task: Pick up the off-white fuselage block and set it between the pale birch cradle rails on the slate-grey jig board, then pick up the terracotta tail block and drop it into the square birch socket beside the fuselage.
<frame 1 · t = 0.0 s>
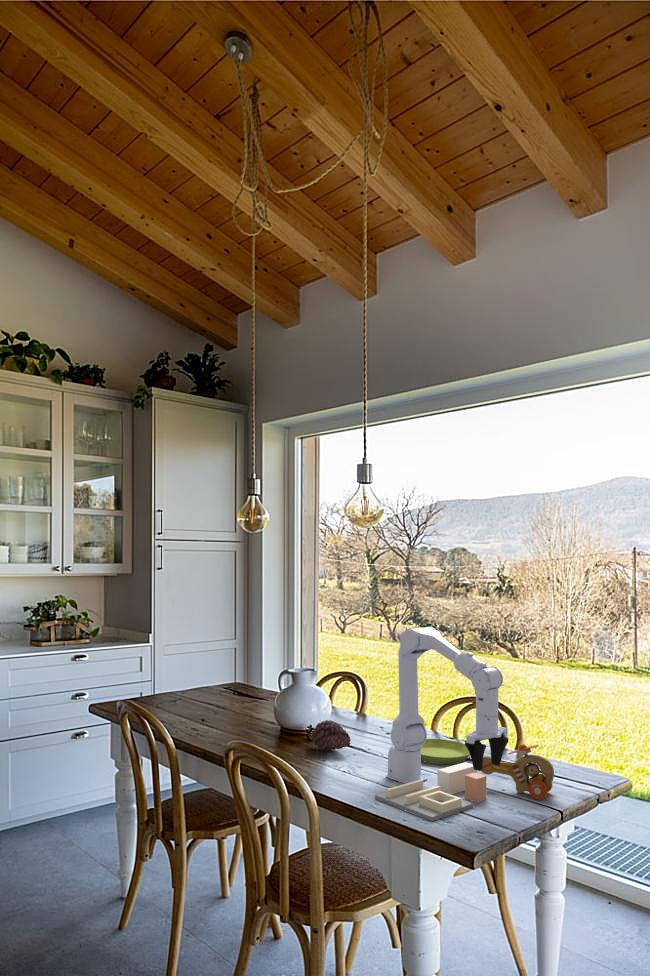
hand: (486, 767, 196), 10 cm above the table, tool pointing down, fingers open, 7 cm apart
fuselage block: (457, 789, 209), on the table
assembly jig: (423, 803, 197), on the table
tail block: (475, 798, 202), on the table
pine cone: (329, 752, 243), on the table
saucer: (439, 758, 240), on the table
toy helicopter: (519, 792, 208), on the table
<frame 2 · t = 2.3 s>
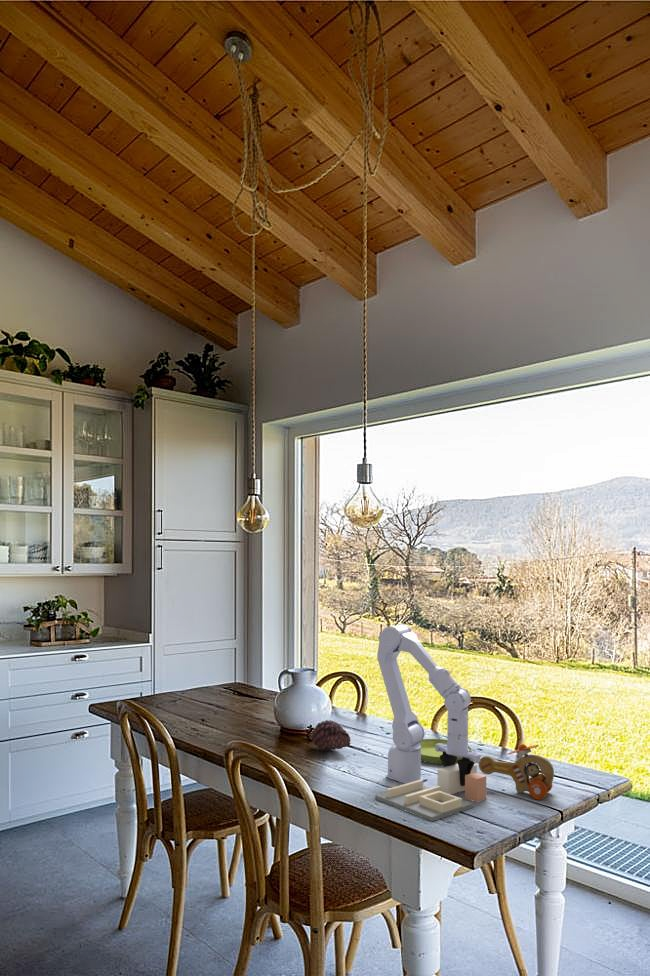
hand: (457, 782, 209), 2 cm above the table, tool pointing down, fingers closed on fuselage block, 4 cm apart
fuselage block: (457, 789, 209), on the table, touching gripper
everything else where it was.
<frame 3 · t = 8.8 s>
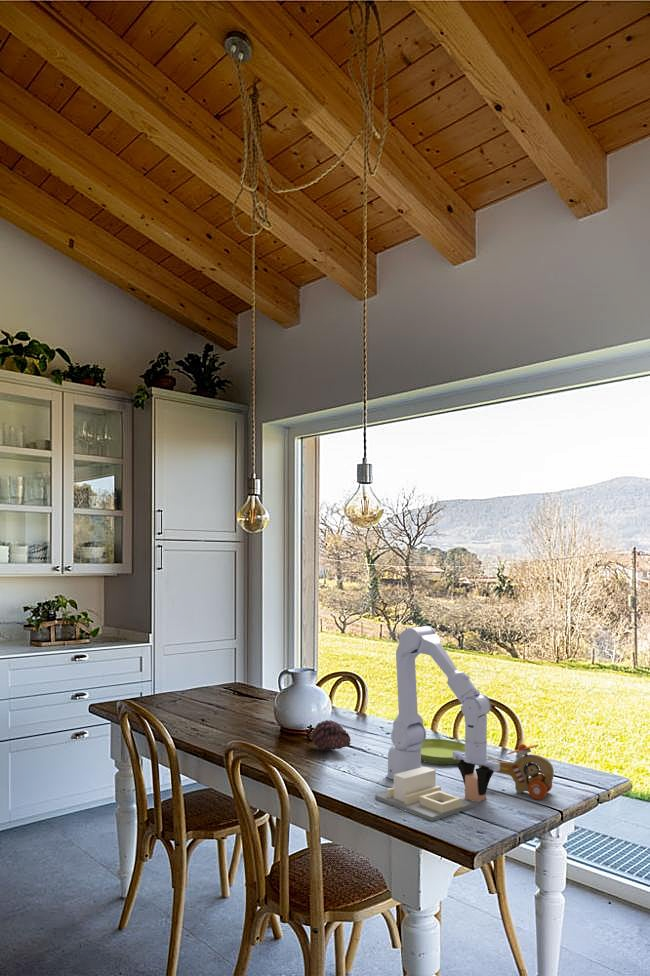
hand: (475, 792, 202), 2 cm above the table, tool pointing down, fingers closed on tail block, 4 cm apart
fuselage block: (414, 795, 200), point 1 cm above the table, touching assembly jig
tail block: (475, 798, 202), on the table, touching gripper
everything else where it was.
when the fingers open (4 cm above the table, at t = 12.2 s): tail block drops 1 cm, resting on assembly jig.
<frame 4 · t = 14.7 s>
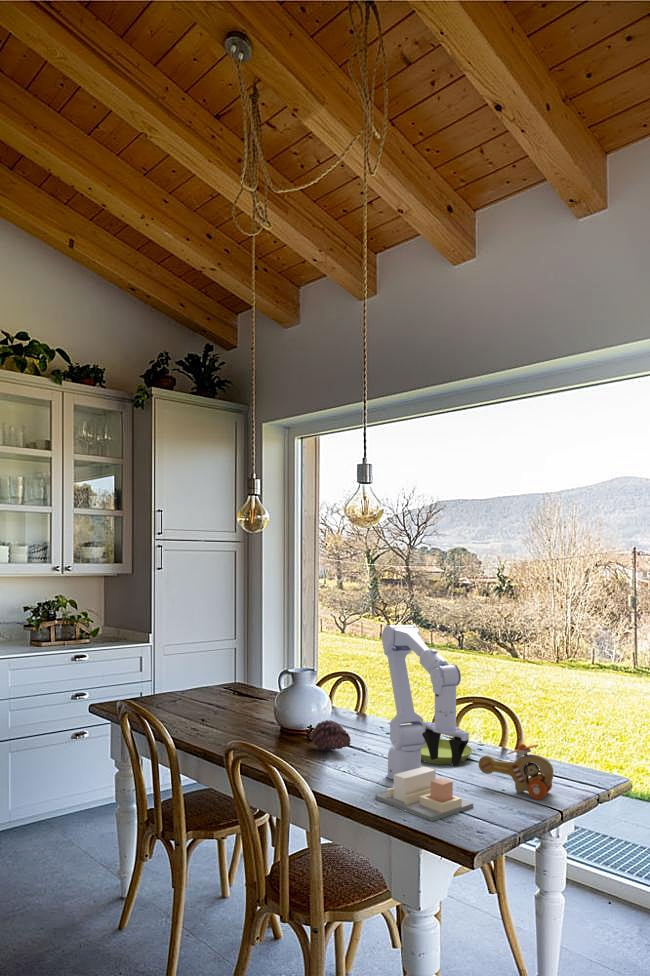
hand: (444, 762, 200), 10 cm above the table, tool pointing down, fingers open, 7 cm apart
tail block: (441, 805, 193), point 1 cm above the table, touching assembly jig
everything else where it was.
at the end: fuselage block 0.3 cm from the target spot on the assembly jig, point 1.0 cm above the assembly jig's base; tail block 0.3 cm from the target spot on the assembly jig, point 1.0 cm above the assembly jig's base; tail block tilted 0° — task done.
